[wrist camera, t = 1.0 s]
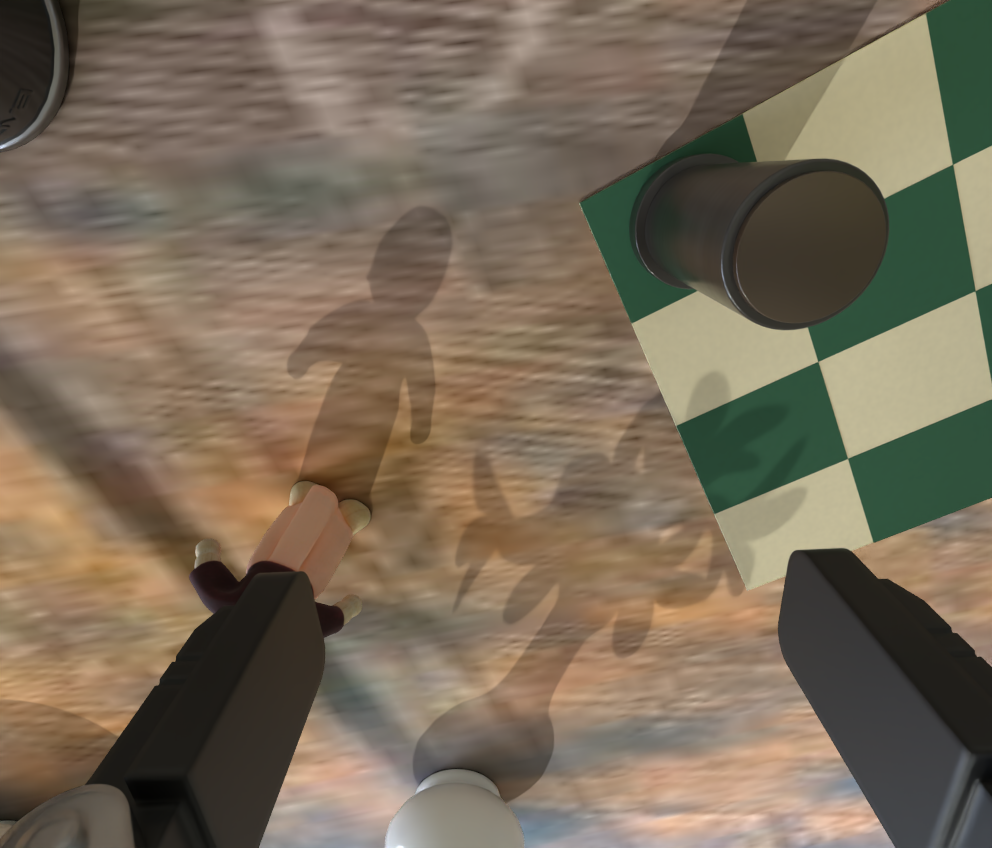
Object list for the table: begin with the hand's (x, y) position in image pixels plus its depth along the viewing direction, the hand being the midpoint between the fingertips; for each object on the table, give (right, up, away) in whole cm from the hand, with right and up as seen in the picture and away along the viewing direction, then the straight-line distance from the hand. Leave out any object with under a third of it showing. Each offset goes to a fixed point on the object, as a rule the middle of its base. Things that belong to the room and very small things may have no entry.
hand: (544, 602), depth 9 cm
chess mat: (+18, +8, +17) cm, 26 cm away
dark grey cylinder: (+8, +12, +15) cm, 21 cm away
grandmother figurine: (-11, -1, +21) cm, 24 cm away
